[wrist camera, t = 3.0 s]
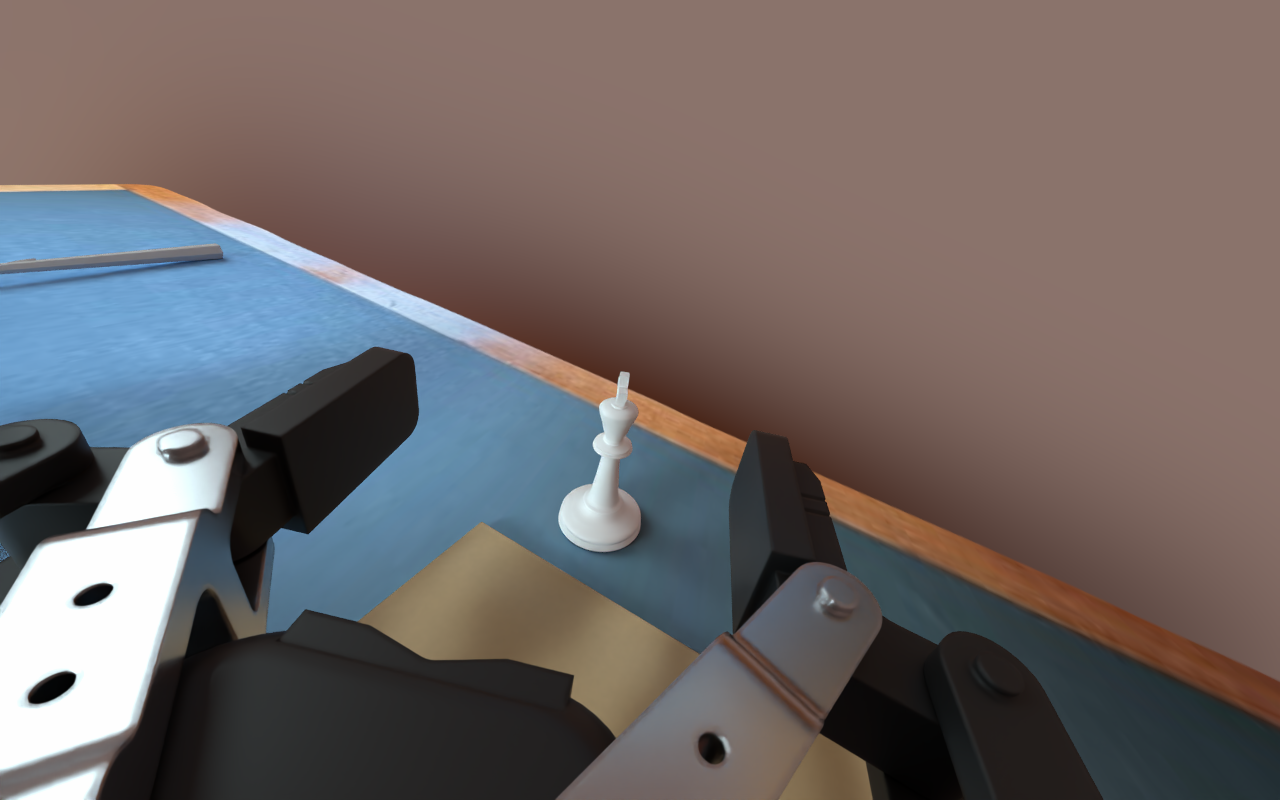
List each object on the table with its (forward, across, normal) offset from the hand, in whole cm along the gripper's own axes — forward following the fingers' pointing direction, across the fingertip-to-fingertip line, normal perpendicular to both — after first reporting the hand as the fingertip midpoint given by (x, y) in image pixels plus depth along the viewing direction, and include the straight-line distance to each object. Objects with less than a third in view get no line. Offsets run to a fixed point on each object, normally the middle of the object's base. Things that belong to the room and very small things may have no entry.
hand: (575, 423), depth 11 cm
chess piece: (+11, 0, +14) cm, 18 cm away
